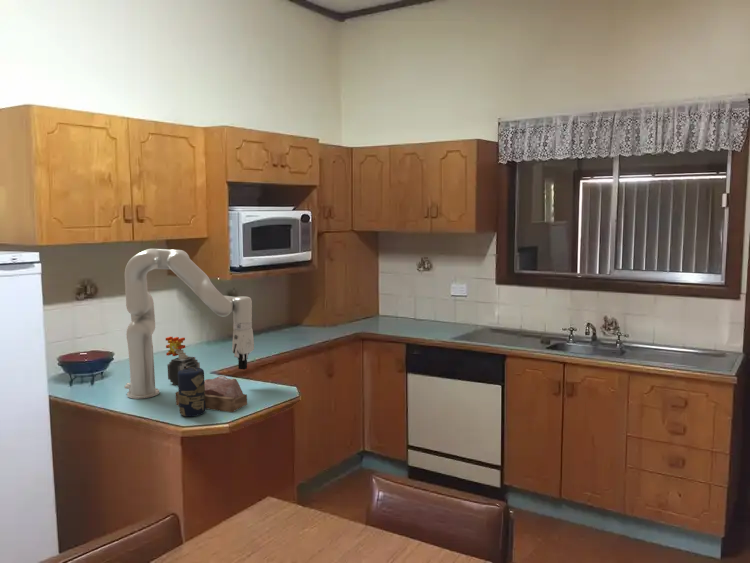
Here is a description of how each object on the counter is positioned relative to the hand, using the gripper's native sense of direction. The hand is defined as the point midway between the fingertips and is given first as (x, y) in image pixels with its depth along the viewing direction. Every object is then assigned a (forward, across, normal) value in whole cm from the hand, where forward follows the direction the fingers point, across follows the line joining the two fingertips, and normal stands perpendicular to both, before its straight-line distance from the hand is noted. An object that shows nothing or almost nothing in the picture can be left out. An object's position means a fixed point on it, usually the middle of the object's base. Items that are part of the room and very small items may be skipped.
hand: (242, 368), depth 278 cm
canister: (+9, -35, -1) cm, 37 cm away
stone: (+9, -18, -3) cm, 21 cm away
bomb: (+10, -1, +30) cm, 32 cm away
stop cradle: (+9, -23, -1) cm, 25 cm away
